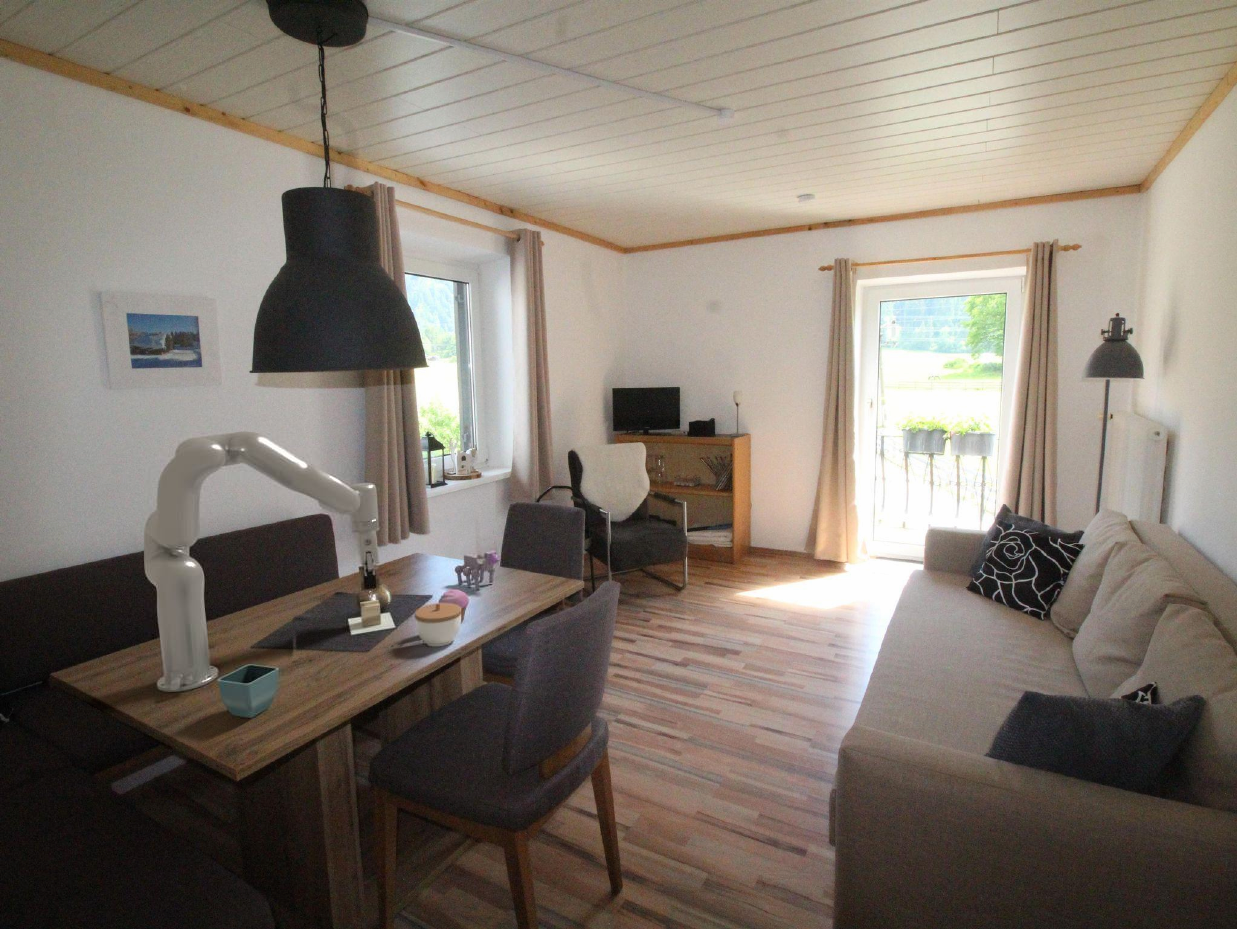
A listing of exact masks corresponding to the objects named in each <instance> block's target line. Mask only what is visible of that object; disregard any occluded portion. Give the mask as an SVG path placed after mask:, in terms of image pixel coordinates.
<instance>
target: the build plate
mask: <svg viewBox="0 0 1237 929" xmlns="http://www.w3.org/2000/svg"><path fill="white" fill-rule="evenodd" d="M380 615H381V624H380V625H374V626H368V627H363V625H362V620H361V616H358V617H352V618H348V619H347V620H348V621H347V622H348V626H349V631H350V635H351V636H353V635H358V634H365V633H370V632H371V633H372V632H377V631H381V630H388V629H393V628H396V626H395V623H394V621H393V617H392V615H391V612H384V613H380Z"/></svg>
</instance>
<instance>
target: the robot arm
mask: <svg viewBox="0 0 1237 929" xmlns="http://www.w3.org/2000/svg"><path fill="white" fill-rule="evenodd" d="M239 464H244V465H246V466H248V467H250V468H251V469H254V470H255V471H257V472H259V473H260V474H262V475H264V476H265V477H268V478H269V479H271V480H272V481H274V482H275V483H277V484H279V485H281V486H282V487H284V488H286V489H289V490H291V491H293V492H296V493H299V494H302V495H305V496H308V497H309V498H310V499H313V500H316V501H317V503H318V505H319V506H320V508H322V510H325V511H326V512H330V513H334V514H338V515H340V516H346V517H347V516H350V526H351V533H353V534H355V535H356V536H355V537H356V546H357V553H358V558H359V563H360V565H361V566H364V574H365V576H364V588H365V589H371V588H376V575H375V571H374V565H375V564H376V565H379V564H380V557H379V549H378V547H379V546H378V537H377V531H379V530H380V520H379V509H378V508H379V507H378V506H379V505H378V495H377V491H378V490H377V487H376V485H375V484H374V483H372V482H361V483H359V482H358V483H354V484H350V485H347V484H345V482H342V481H341V480H339V479H337V478H336V477H334V476H333V475H331V474H328V473H327V472H325V471H323V470H321V469H319V468H318V467H316V466H314V465H312V464H311V463H309V462H308V461H307V460H306V461H305V460H304V459H302V458H301V457H299V456H298V455H296V454H294V453H293V452H291V451H289V450H288V449H287V448H286V447H283V446H282V445H280V444H279V443H277V442H275V441H274V440H273V439H271V438H270V437H267V436H266V435H263V434H262V433H259V432H253V431H252V432H251V431H236V432H230V433H223V434H213V435H206V436H197V437H192V438H187V439H185V440H183V441H181V443H179V444H178V445H177V447H176V450H175V453H174V457H173V458H171V459H170V461H169V462H168V463H167V465H165V467H164V468H163V470H162V472H161V473H160V476H159V479H158V482H157V483H158V485H157V491H156V492H157V493H156V494H157V495H156V497H157V498H156V510H154V511H153V512H151V513H150V515H149V516H148V517H147V519H146V521H145V524H144V535H143V536H144V537H143V539H144V540H143V547H144V548H143V554H144V555H143V561H144V563H143V564H144V566H143V567H144V573H145V576H146V577H147V578H146V579H147V580H148V581H149V582H150V583H151V584H153V586H154V587H156V588H155V589H156V613H157V623H158V624H157V625H158V630H159V631H158V632H159V638H160V639H159V640H160V650H161V660H162V667H163V668H162V669H163V676H162V677H159V679H158V680H157V682H156V687H157V689H158V690H159V691H162V692H165V693H166V692H167V693H173V692H175V693H176V692H177V693H178V692H182V691H188V690H189V691H190V690H193V689H196V688H199V687H203V686H205V685H207V684H209V683H211V682H213V681H214V680H215V679H216V678H217V677H218V676H219V669H218V668H217V667H215V666H213V665H211V660H210V649H209V640H208V629H207V618H206V610H205V608H206V607H205V574H204V570H203V567H202V566H201V564H200V563H199V562H198V561H197V560H196V559H195V558H193V557H191V556H190V547H192V546H194V544H195V543H196V542H197V541H198V539H199V537H200V531H201V530H200V529H201V526H200V498H201V489H202V486H203V484H204V483H205V481H206V479H207V478H209V477H210V476H211V475H212V474H214V473H216V472H218V471H219V470H221V469H222V468H223V467H229V466H234V465H239ZM366 567H367V569H366ZM371 590H372V589H371Z"/></svg>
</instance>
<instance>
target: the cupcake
mask: <svg viewBox="0 0 1237 929" xmlns="http://www.w3.org/2000/svg"><path fill="white" fill-rule="evenodd" d="M437 603H451V604H456V605H459V606H460V607H461V622H463V621H464V619H465V615H466V610H467V608H468V606H469V603H470V600H469V596H468V594H467V593H466V592H464V591H462V590H460V589H449V590H446V591H445V592H444V593H443V594H442V595H441V596H440V598H439V599H438V602H437Z"/></svg>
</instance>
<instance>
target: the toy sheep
mask: <svg viewBox="0 0 1237 929" xmlns="http://www.w3.org/2000/svg"><path fill="white" fill-rule="evenodd" d="M500 561H501V559H500V558H499V556H498V553H497V551H496V550H494V549H491V550H489V551H485V552H484V553H478V554H475V553H471V552H470V553H468V554H463V564H462V565H457V566H455V568H454V572H455V574H457V582H458V585H459V584H462V585H463V578H462V575H463V576H465V580H466V586H468V587H470V586H471V587H472V581H471V580H472V579H474V580H473V581H474V585H475V590H476V589H479V588H481V587H480V581H483V580H485V578H484V577H485V572H487V573H489V578H488V579H489V583H493V584H494V575H495V574H494V573H495V572H496V570H497V569H496V566H495V564H497V563H499V562H500ZM489 583H488V584H489ZM471 587H470V588H471ZM479 590H480V589H479Z"/></svg>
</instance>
